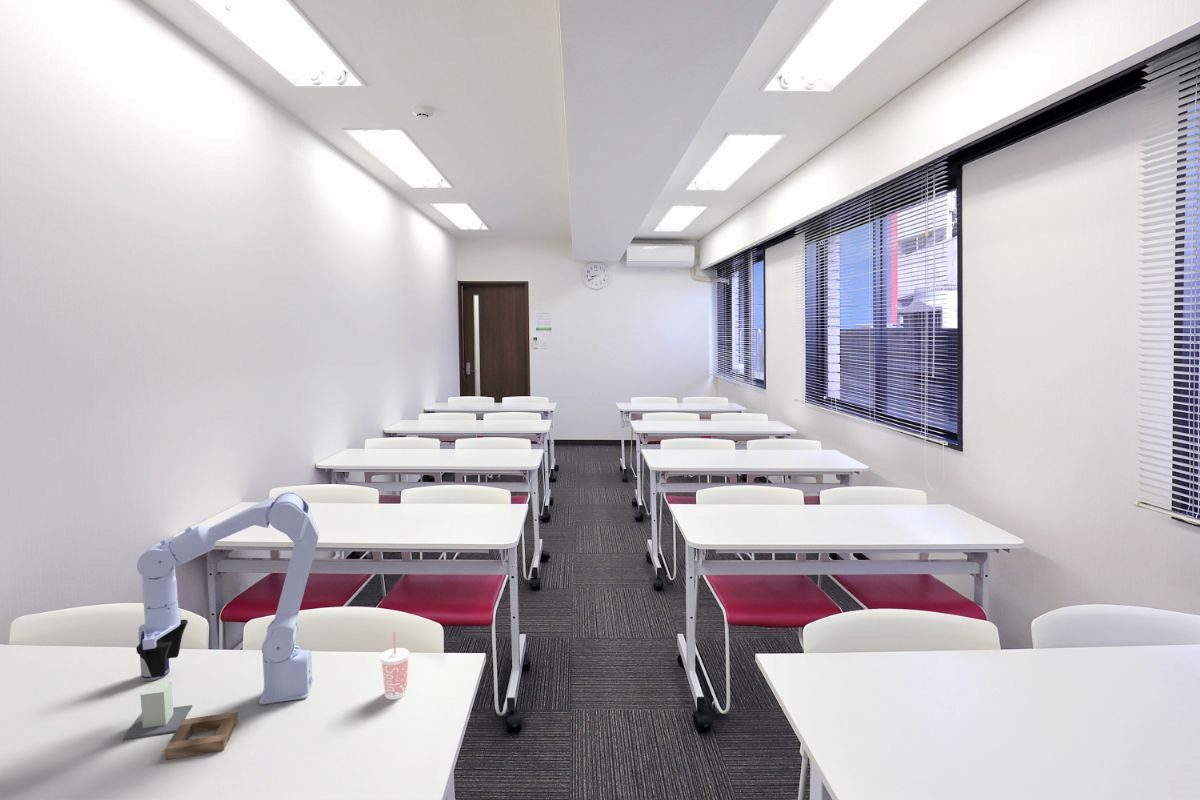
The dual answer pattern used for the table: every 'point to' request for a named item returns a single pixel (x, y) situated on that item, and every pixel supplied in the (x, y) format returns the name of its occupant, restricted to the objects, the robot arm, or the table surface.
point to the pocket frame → (186, 747)
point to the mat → (170, 727)
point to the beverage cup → (395, 671)
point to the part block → (157, 704)
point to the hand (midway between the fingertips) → (165, 666)
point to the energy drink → (144, 669)
